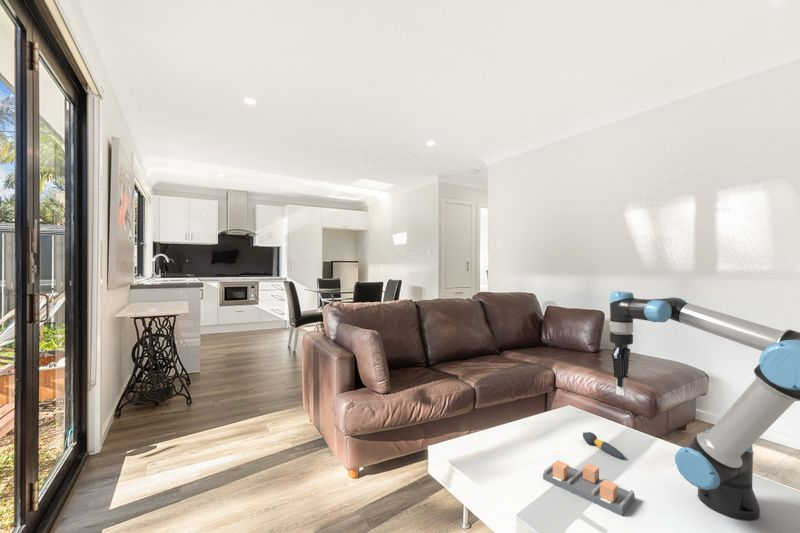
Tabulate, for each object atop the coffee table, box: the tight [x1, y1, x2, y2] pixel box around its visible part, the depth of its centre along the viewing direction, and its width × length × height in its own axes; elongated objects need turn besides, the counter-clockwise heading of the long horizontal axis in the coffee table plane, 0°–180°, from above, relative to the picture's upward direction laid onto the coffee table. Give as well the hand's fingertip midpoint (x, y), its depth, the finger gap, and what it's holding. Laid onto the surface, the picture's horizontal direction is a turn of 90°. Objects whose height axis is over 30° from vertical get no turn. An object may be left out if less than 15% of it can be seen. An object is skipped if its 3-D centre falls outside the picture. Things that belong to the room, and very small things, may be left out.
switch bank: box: [542, 459, 636, 517], centre depth 128 cm, size 26×12×3 cm, turn 41°
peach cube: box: [582, 462, 600, 483], centre depth 131 cm, size 4×4×4 cm
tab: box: [600, 479, 619, 502], centre depth 121 cm, size 4×4×4 cm
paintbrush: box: [582, 431, 625, 460], centre depth 156 cm, size 20×5×5 cm, turn 30°
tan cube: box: [552, 460, 570, 480], centre depth 133 cm, size 4×4×4 cm
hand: (620, 394), depth 139 cm, fingers closed
